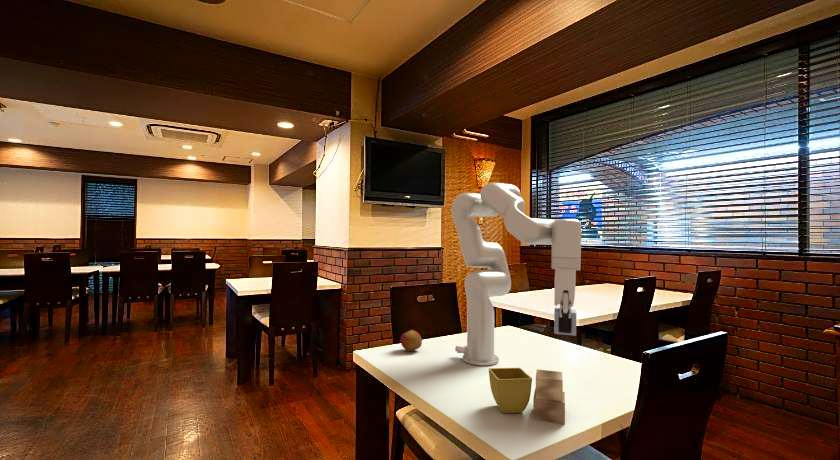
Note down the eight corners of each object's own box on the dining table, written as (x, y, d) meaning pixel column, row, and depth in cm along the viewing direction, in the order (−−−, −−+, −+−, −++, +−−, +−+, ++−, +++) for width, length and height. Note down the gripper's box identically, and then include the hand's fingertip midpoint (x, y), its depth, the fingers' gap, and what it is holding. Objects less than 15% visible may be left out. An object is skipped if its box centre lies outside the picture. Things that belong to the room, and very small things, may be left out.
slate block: (554, 333, 105) (554, 311, 105) (554, 329, 110) (554, 307, 110) (576, 335, 103) (576, 313, 103) (575, 331, 108) (575, 309, 108)
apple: (411, 347, 154) (411, 326, 154) (425, 351, 148) (425, 330, 148) (396, 350, 148) (396, 329, 149) (410, 355, 142) (410, 333, 143)
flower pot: (487, 402, 101) (487, 367, 102) (520, 401, 102) (520, 366, 102) (497, 417, 93) (497, 379, 93) (532, 416, 93) (533, 378, 94)
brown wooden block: (533, 419, 92) (533, 398, 92) (535, 408, 99) (535, 388, 99) (564, 424, 90) (564, 402, 90) (564, 412, 96) (564, 391, 96)
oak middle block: (535, 398, 92) (535, 377, 92) (536, 389, 98) (536, 369, 98) (562, 401, 90) (562, 380, 90) (562, 392, 96) (562, 372, 96)
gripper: (552, 261, 116) (551, 322, 116) (550, 265, 100) (549, 336, 100) (579, 262, 114) (578, 324, 114) (582, 266, 98) (581, 339, 97)
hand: (564, 329), depth 107 cm, fingers closed on slate block, 5 cm apart
